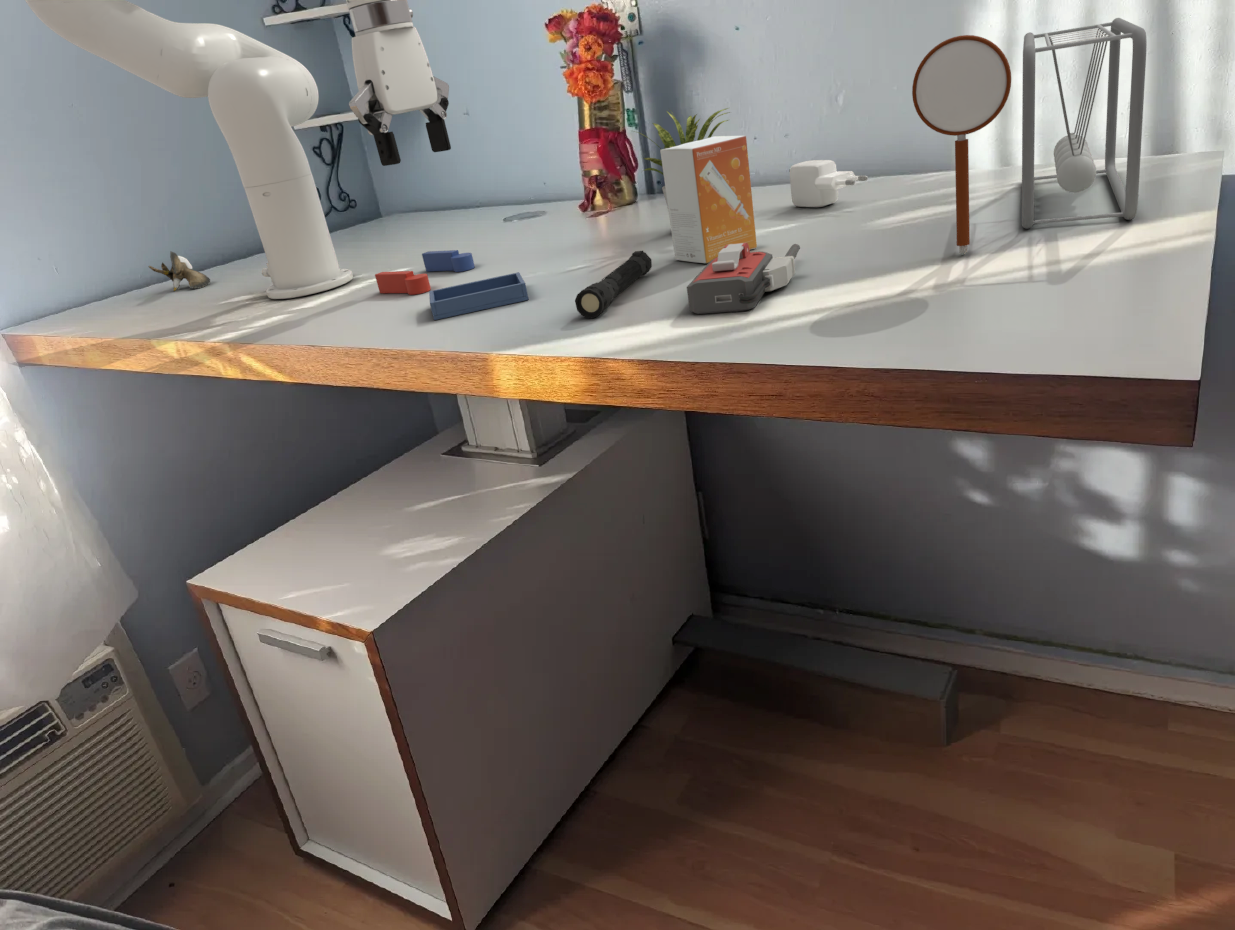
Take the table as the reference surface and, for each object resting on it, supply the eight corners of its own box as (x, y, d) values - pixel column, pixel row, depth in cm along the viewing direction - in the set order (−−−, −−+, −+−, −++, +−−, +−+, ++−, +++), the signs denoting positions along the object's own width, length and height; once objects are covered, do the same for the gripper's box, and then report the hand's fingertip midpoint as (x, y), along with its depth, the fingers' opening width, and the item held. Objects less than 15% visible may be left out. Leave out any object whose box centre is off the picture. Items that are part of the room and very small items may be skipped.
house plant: (771, 213, 129) (758, 89, 123) (727, 237, 119) (711, 103, 113) (682, 219, 137) (666, 102, 131) (634, 242, 127) (614, 117, 120)
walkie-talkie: (775, 312, 84) (807, 258, 101) (771, 264, 82) (803, 218, 99) (683, 319, 87) (728, 266, 104) (676, 273, 86) (724, 226, 102)
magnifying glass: (916, 259, 93) (909, 44, 85) (919, 255, 94) (912, 43, 86) (1009, 253, 89) (1010, 27, 81) (1011, 249, 90) (1012, 26, 82)
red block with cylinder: (375, 295, 124) (370, 276, 123) (391, 288, 126) (386, 270, 125) (419, 294, 119) (414, 275, 118) (435, 288, 121) (430, 268, 120)
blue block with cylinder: (422, 273, 133) (417, 255, 132) (436, 267, 135) (432, 249, 134) (465, 271, 128) (460, 253, 127) (479, 266, 130) (474, 247, 129)
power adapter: (874, 202, 124) (871, 156, 122) (850, 210, 122) (847, 164, 119) (811, 200, 133) (808, 158, 130) (788, 208, 130) (784, 165, 128)
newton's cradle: (1137, 223, 91) (1148, 27, 84) (1021, 233, 95) (1022, 47, 88) (1114, 171, 116) (1121, 16, 109) (1023, 180, 120) (1024, 32, 113)
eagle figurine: (145, 289, 157) (167, 279, 151) (150, 249, 158) (173, 237, 152) (189, 301, 163) (213, 292, 157) (194, 262, 164) (218, 252, 158)
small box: (706, 265, 107) (691, 148, 101) (674, 260, 112) (658, 149, 107) (759, 247, 110) (747, 133, 105) (725, 244, 115) (712, 135, 110)
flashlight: (577, 319, 94) (572, 290, 93) (631, 276, 108) (627, 251, 107) (605, 317, 93) (599, 288, 92) (655, 274, 107) (651, 248, 105)
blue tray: (434, 320, 105) (429, 303, 104) (433, 307, 111) (429, 291, 110) (528, 299, 106) (525, 282, 105) (522, 288, 112) (519, 271, 111)
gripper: (409, 20, 127) (441, 149, 134) (310, 31, 115) (351, 172, 121) (448, 9, 123) (479, 143, 130) (350, 20, 110) (390, 167, 117)
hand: (417, 157), depth 126 cm, fingers open, 9 cm apart
